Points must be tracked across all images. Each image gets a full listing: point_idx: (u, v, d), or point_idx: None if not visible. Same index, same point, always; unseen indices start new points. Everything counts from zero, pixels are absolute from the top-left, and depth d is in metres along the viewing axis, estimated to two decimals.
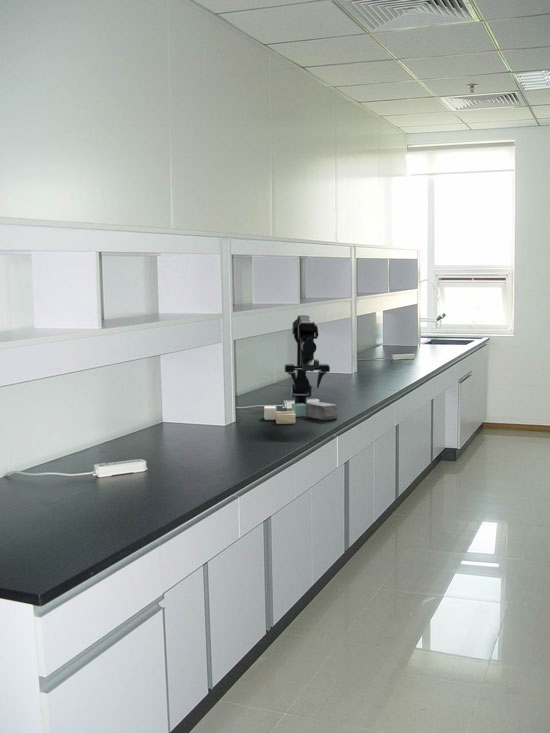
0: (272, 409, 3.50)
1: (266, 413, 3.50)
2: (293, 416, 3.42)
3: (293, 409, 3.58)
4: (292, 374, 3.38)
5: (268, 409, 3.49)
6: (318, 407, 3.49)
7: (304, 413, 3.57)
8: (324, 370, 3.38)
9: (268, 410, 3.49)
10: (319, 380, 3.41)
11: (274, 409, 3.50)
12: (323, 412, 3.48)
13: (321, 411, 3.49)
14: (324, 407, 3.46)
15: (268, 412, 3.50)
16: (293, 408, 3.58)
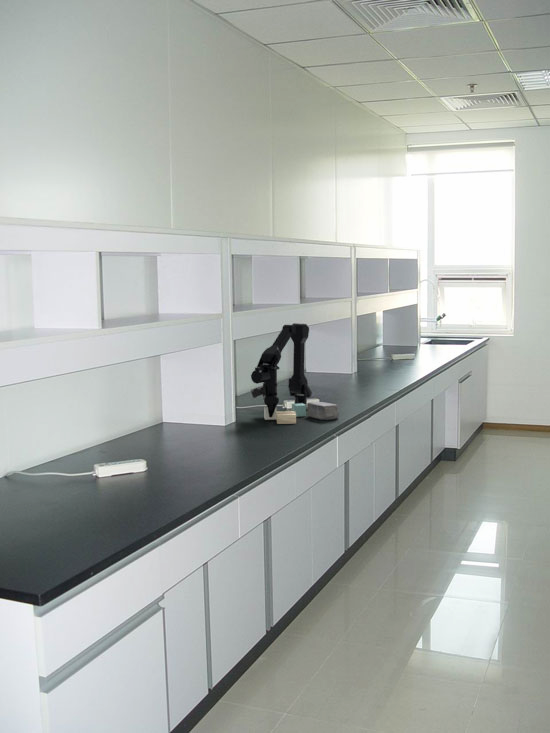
0: None
1: (266, 413, 3.50)
2: (294, 416, 3.41)
3: (293, 409, 3.58)
4: (264, 399, 3.56)
5: None
6: (319, 407, 3.49)
7: (304, 413, 3.57)
8: None
9: None
10: (268, 409, 3.49)
11: None
12: (324, 412, 3.48)
13: (322, 411, 3.49)
14: (325, 407, 3.47)
15: (268, 412, 3.50)
16: (293, 408, 3.58)
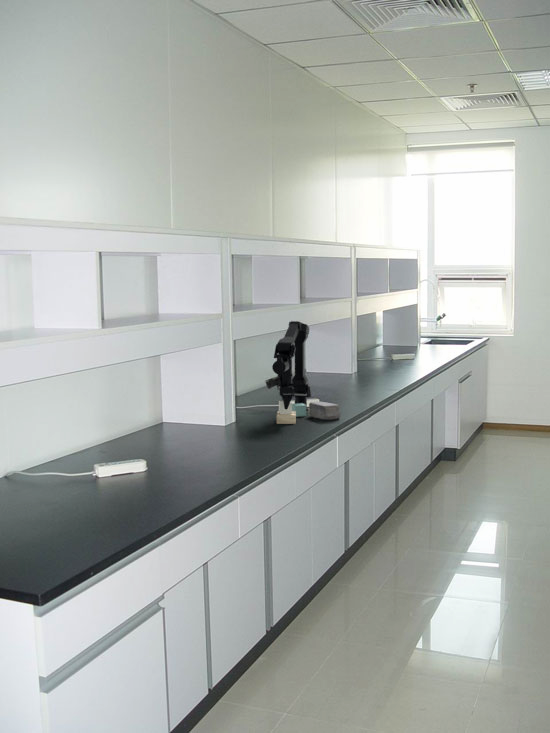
0: None
1: (281, 407, 3.42)
2: (293, 416, 3.41)
3: (293, 409, 3.58)
4: (278, 390, 3.50)
5: (283, 403, 3.42)
6: (320, 407, 3.49)
7: (304, 413, 3.57)
8: None
9: (283, 404, 3.42)
10: (283, 401, 3.39)
11: None
12: (325, 412, 3.48)
13: (323, 411, 3.49)
14: (325, 407, 3.47)
15: (283, 406, 3.43)
16: (293, 408, 3.58)
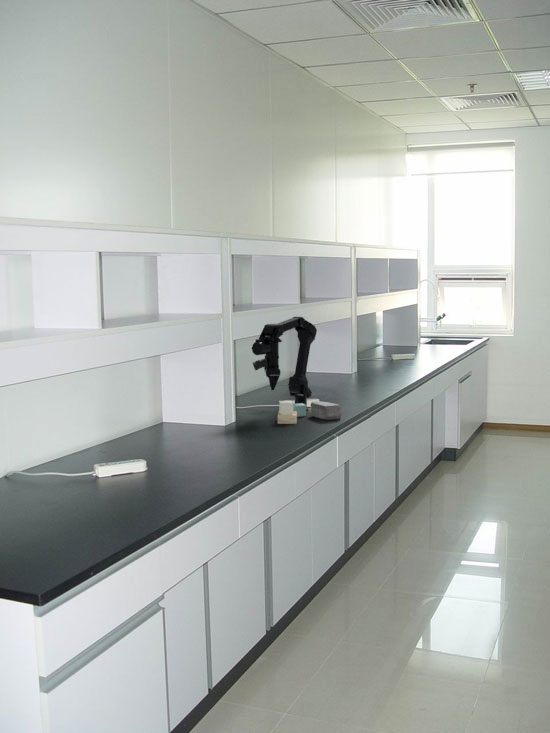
0: (289, 404, 3.42)
1: (283, 408, 3.42)
2: (294, 416, 3.41)
3: (293, 409, 3.58)
4: None
5: (285, 404, 3.41)
6: (321, 407, 3.49)
7: (304, 413, 3.57)
8: None
9: (285, 405, 3.41)
10: (270, 382, 3.49)
11: (291, 403, 3.42)
12: (325, 412, 3.48)
13: (324, 411, 3.49)
14: (326, 407, 3.47)
15: (285, 407, 3.42)
16: (293, 408, 3.58)
